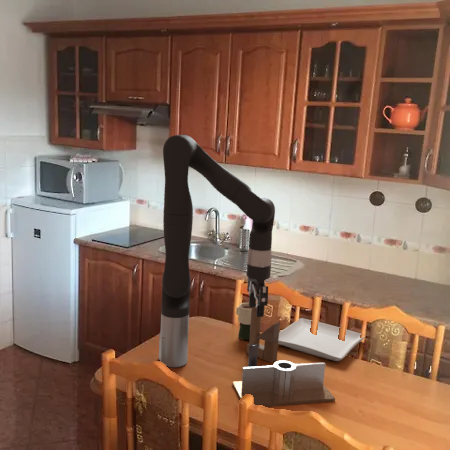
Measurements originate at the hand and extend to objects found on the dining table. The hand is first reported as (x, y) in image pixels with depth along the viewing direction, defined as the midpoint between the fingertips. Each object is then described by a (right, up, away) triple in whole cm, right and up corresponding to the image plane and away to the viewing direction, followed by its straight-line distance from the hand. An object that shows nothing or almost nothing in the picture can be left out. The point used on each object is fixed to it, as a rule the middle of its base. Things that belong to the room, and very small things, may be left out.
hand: (256, 311), depth 169 cm
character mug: (-2, -16, +32) cm, 36 cm away
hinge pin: (-1, -21, +4) cm, 21 cm away
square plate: (+25, -18, +31) cm, 44 cm away
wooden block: (+3, -19, +17) cm, 26 cm away
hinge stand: (+8, -24, -7) cm, 26 cm away
